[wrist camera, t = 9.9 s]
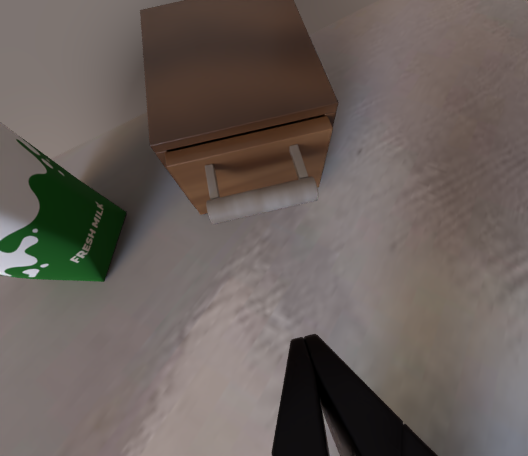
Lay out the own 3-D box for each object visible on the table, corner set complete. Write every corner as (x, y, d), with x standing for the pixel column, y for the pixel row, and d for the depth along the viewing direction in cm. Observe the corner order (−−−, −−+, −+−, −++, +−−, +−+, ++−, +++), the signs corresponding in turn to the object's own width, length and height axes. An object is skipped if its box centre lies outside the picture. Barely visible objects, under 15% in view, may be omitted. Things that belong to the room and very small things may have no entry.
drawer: (333, 228, 23) (355, 182, 16) (206, 258, 23) (171, 225, 16) (284, 85, 30) (283, 7, 23) (185, 108, 30) (153, 36, 22)
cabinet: (320, 180, 26) (338, 102, 17) (195, 209, 26) (149, 145, 17) (284, 77, 32) (284, -23, 23) (180, 101, 31) (139, 9, 22)
